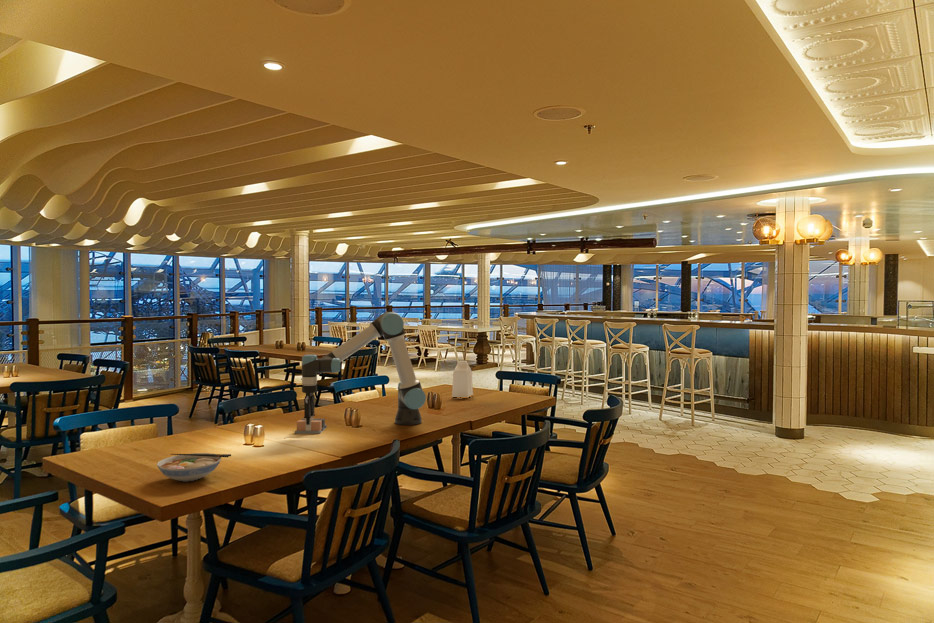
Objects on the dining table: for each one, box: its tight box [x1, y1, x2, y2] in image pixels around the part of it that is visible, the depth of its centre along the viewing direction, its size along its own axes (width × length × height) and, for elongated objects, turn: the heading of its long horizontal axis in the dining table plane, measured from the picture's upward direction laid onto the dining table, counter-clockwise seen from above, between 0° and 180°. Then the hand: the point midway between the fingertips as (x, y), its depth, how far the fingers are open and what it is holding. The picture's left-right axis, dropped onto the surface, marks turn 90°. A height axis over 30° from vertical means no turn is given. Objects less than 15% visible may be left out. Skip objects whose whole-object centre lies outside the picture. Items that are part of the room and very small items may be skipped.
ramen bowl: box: [156, 452, 232, 483], centre depth 229 cm, size 25×23×8 cm
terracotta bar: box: [296, 419, 322, 431], centre depth 308 cm, size 12×4×5 cm, turn 91°
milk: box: [451, 360, 474, 398], centre depth 425 cm, size 12×12×26 cm
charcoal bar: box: [300, 418, 326, 429], centre depth 315 cm, size 12×4×5 cm, turn 91°
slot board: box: [294, 424, 328, 435], centre depth 311 cm, size 13×16×2 cm
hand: (309, 429), depth 308 cm, fingers closed on terracotta bar, 4 cm apart
